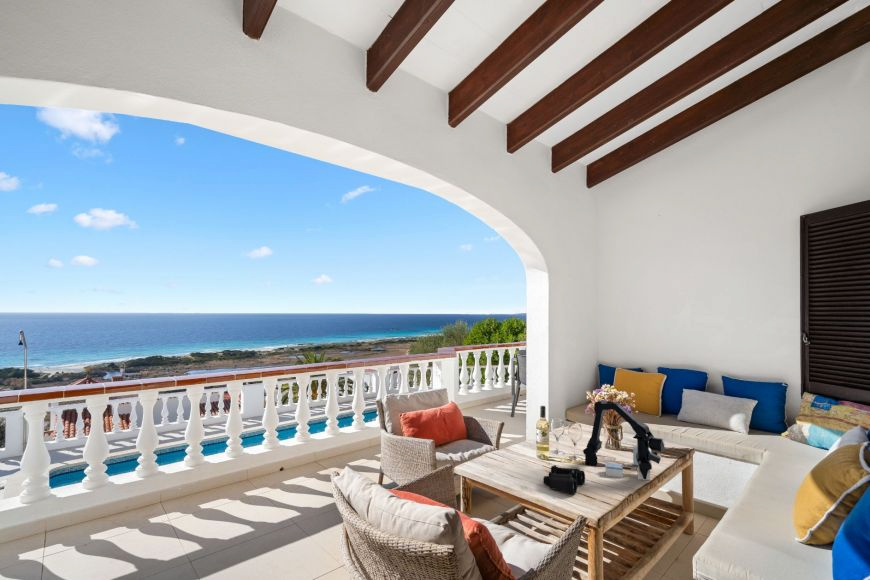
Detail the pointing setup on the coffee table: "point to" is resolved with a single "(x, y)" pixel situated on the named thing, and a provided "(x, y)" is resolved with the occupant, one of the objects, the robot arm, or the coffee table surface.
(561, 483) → the binoculars
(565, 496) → the coffee table surface
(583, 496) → the coffee table surface
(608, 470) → the ticket book
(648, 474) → the stub
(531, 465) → the coffee table surface
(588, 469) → the coffee table surface
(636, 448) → the photo printer
